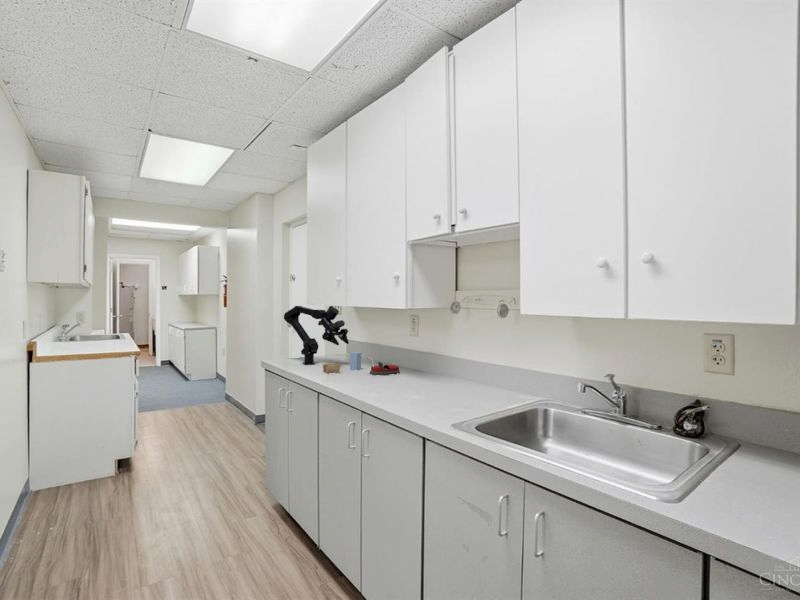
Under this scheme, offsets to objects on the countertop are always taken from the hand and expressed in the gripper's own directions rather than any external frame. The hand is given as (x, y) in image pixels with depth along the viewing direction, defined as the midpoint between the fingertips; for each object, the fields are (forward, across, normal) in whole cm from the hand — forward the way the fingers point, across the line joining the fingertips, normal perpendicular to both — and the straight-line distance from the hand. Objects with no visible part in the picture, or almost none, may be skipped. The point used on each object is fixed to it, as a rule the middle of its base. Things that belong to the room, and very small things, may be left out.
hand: (343, 344), depth 249 cm
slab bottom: (+12, -14, +9) cm, 21 cm away
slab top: (+11, -14, +7) cm, 19 cm away
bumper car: (+31, +1, -7) cm, 32 cm away
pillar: (+16, +1, +5) cm, 17 cm away
